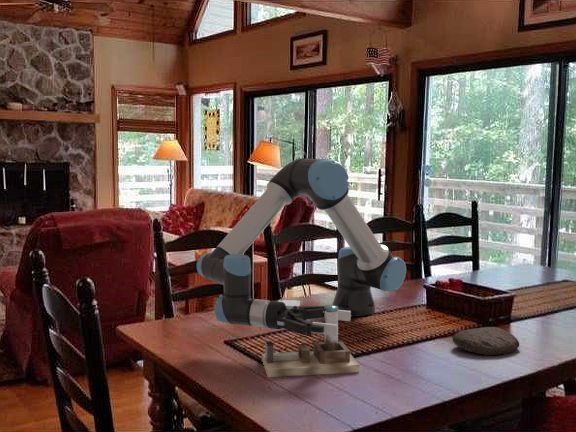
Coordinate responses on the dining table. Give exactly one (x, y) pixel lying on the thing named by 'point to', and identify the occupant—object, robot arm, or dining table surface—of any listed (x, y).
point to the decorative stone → (486, 341)
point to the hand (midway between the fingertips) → (344, 322)
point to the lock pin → (277, 357)
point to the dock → (313, 362)
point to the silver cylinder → (331, 318)
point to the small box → (290, 303)
